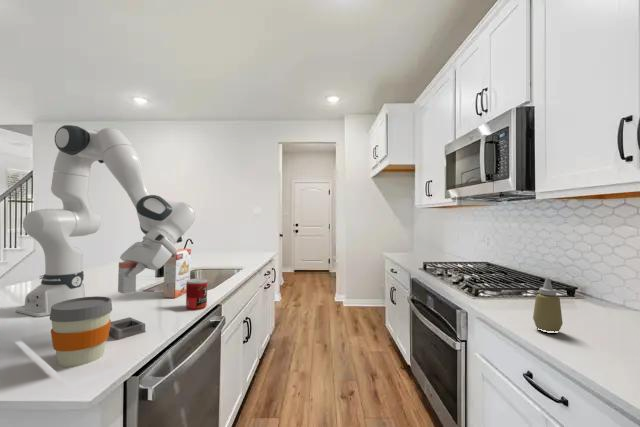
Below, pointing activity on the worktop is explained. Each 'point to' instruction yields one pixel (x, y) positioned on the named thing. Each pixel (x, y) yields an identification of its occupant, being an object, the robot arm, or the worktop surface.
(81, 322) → the reusable coffee cup
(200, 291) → the canned food
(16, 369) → the worktop surface
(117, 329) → the square open tray
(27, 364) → the worktop surface
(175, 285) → the cracker box
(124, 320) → the rubber pad
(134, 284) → the steel peg
